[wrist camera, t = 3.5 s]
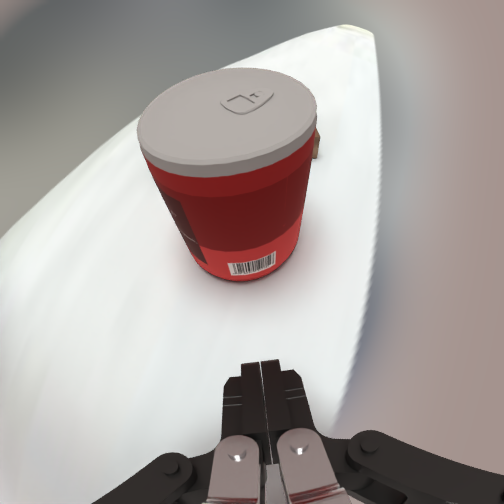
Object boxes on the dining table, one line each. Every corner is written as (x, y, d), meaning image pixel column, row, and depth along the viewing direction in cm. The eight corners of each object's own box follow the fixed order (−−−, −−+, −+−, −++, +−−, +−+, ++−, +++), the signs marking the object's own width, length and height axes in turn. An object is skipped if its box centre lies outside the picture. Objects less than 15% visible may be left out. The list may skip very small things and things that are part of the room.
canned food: (317, 221, 21) (345, 91, 11) (255, 308, 18) (240, 201, 8) (235, 178, 23) (218, 57, 13) (169, 249, 20) (103, 133, 10)
